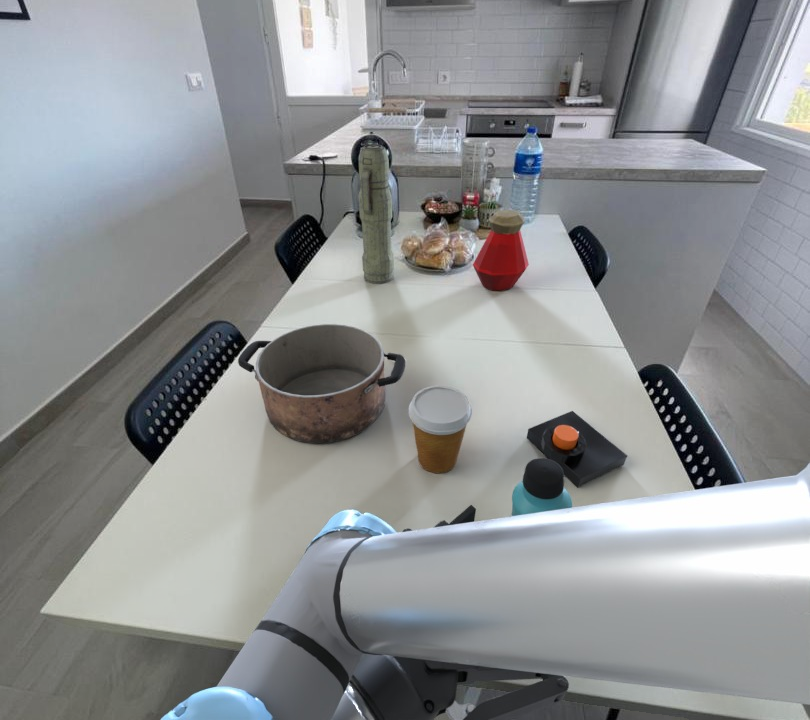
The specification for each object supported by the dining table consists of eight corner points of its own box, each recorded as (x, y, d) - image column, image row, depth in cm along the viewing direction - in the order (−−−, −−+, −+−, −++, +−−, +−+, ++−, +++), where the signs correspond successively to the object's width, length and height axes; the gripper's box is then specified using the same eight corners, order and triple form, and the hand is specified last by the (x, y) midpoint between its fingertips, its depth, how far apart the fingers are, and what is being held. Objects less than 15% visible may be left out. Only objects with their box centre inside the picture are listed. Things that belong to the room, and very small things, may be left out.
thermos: (357, 284, 126) (347, 150, 106) (370, 267, 136) (363, 141, 115) (387, 287, 125) (383, 151, 104) (398, 270, 134) (396, 142, 114)
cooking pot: (225, 433, 78) (209, 386, 72) (277, 360, 96) (268, 317, 90) (392, 456, 74) (390, 407, 68) (414, 375, 92) (414, 330, 85)
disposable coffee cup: (478, 457, 74) (485, 402, 67) (441, 492, 68) (444, 435, 61) (434, 429, 79) (436, 375, 72) (396, 459, 73) (395, 404, 66)
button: (580, 445, 71) (583, 436, 70) (563, 453, 69) (566, 444, 68) (564, 431, 73) (567, 422, 72) (547, 438, 72) (549, 429, 71)
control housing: (623, 465, 72) (630, 447, 70) (571, 491, 68) (576, 473, 66) (569, 419, 81) (574, 402, 78) (520, 440, 77) (523, 423, 74)
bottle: (503, 269, 134) (512, 201, 122) (536, 286, 124) (549, 215, 113) (461, 281, 127) (466, 211, 116) (491, 300, 118) (500, 225, 106)
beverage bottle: (571, 596, 54) (594, 482, 44) (522, 615, 53) (533, 502, 42) (541, 551, 60) (556, 440, 49) (496, 567, 58) (501, 456, 48)
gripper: (293, 620, 46) (436, 503, 58) (479, 899, 31) (623, 665, 43) (280, 582, 42) (438, 464, 53) (490, 885, 27) (647, 629, 38)
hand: (521, 553), depth 48 cm, fingers open, 13 cm apart
